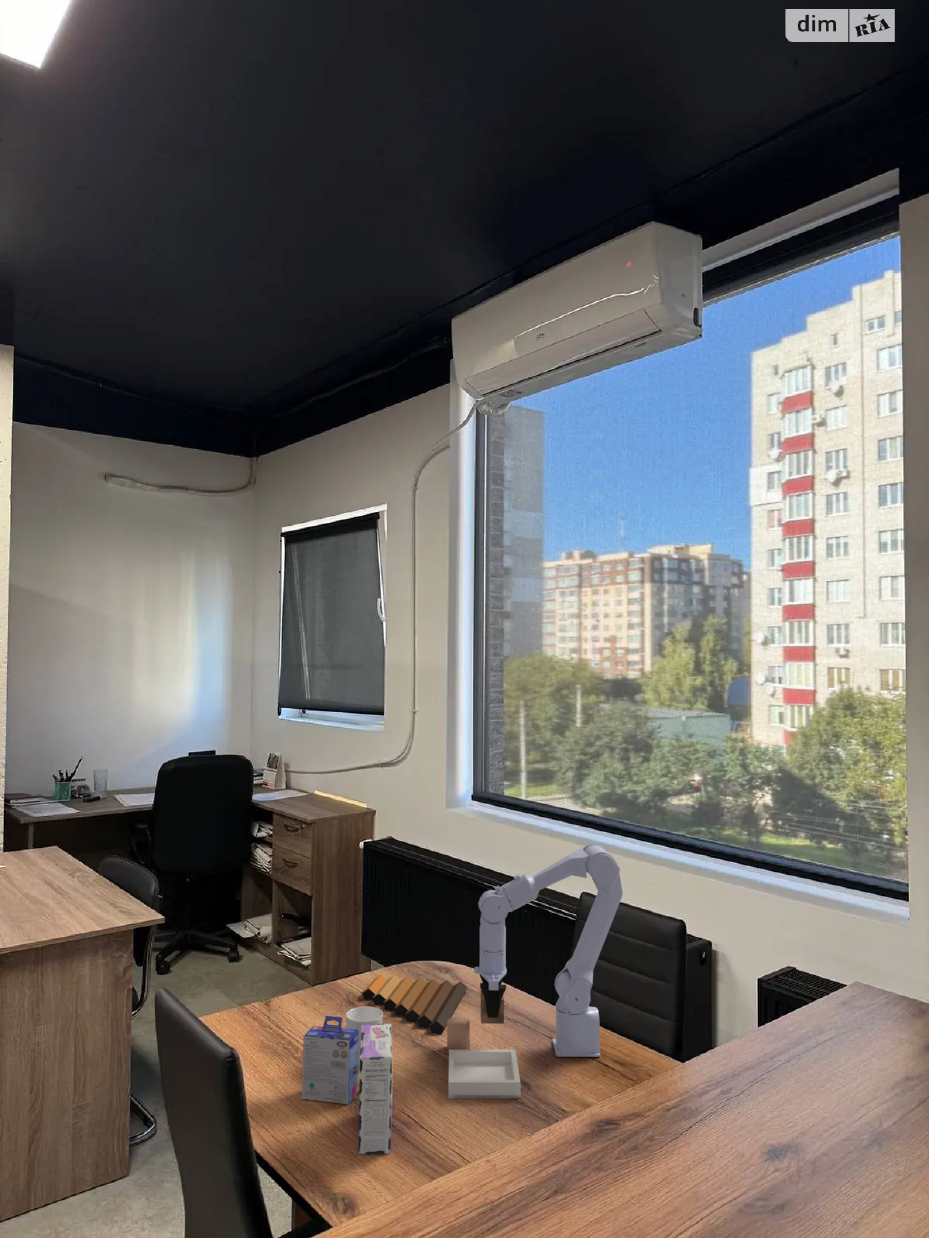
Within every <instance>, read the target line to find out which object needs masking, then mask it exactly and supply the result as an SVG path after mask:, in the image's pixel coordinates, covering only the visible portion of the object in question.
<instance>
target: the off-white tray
mask: <svg viewBox="0 0 929 1238" xmlns="http://www.w3.org/2000/svg"><path fill="white" fill-rule="evenodd" d="M447 1083H448V1089H447V1090H448V1099H521V1076H520V1070H519V1063H518V1058H517V1051H516V1049H470V1050H449V1052H448V1082H447Z"/></svg>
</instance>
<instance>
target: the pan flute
mask: <svg viewBox="0 0 929 1238" xmlns="http://www.w3.org/2000/svg"><path fill="white" fill-rule="evenodd" d="M467 989H468V986H467V985H466V984H464V983H463V982H462V981H461V980H460V981H458V982H457V983H455V984H453V983H452V982H450V981H449V980H445V981H443V982H442V983H439V982H438V981H437V980H435V979H434V978H433V979H431V980H430V981H428V982H426V981H425V980H424V979H423V978H421V977H419V978H418V979H416V980H415V981H413V980H412V979H410V978H409V977H408V976H406V977H404V978H403V979H401V980H400V979H399V978H398V977H397V976H396V975H393V976H391V977H390V978H388V979H387V978H386V977H385V976H384V975H382V974H379V975H378V976H377V977H375V978H374V979H373V980H372V981H371V982H369V984H368V986H367V987H366V988H365V989H364V990H363V991H362V992H361V995H362V998H363V1000H364V1001H372V1002H373V1004H374V1006H382V1007H383V1008H384V1009H383V1010H384V1011H389V1010H390V1011H391V1012H394V1014H395V1016H398V1017H405V1016H406V1018H405V1019H406V1021H407V1022H411V1023H417V1024H418V1027H419V1028H424V1029H429V1030H430V1033H431V1034H434V1033H436V1034H437V1035H443V1033H444V1032H445V1030H446V1029H447V1020H448V1019H450V1018H452V1017H454V1014H455V1012H456V1011H457V1008H458V1006H459V1005H460V1003H461V1001H462V1000H463V998H464V996H465V995H466V992H467ZM436 1034H435V1035H436Z"/></svg>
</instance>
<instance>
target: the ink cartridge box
mask: <svg viewBox="0 0 929 1238" xmlns="http://www.w3.org/2000/svg"><path fill="white" fill-rule="evenodd" d="M331 1021H334V1022H337V1025H336V1024H328V1022H331ZM342 1024H343V1017H341V1016H333V1015H325V1019H324V1021H323V1025H321V1026H320V1025H313V1026H312V1027H311V1028H309V1030H308V1031H307V1032H306V1033H305V1034H304V1035H303V1036H302V1037H303V1040H302V1041H303V1042H302V1043H303V1044H302V1045H303V1046H302V1047H303V1048H302V1051H303V1052H302V1084H301V1085H302V1087H301V1088H302V1089H301V1099H302V1098H303V1099H302V1100H305V1099H310V1100H309V1101H315V1100H316V1102H324V1103H333V1104H343V1105H349V1104H350V1102H352V1100H353V1099H354V1097H356V1095H357V1094H358V1093H359V1091H358V1090H359V1089H358V1088H359V1084H358V1083H359V1080H358V1079H359V1074H358V1073H359V1069H358V1029H350V1028H346V1027H342Z"/></svg>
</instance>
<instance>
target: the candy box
mask: <svg viewBox="0 0 929 1238" xmlns="http://www.w3.org/2000/svg"><path fill="white" fill-rule="evenodd" d="M392 1027H393V1026H392V1023H383V1024H375V1025H362V1030H361V1042H360V1066H359V1069H358V1073H359V1074H358V1079H359V1080H358V1083H359V1084H358V1088H359V1089H358V1090H359V1091H358V1093H359V1095H358V1147H357V1148H358V1153H357V1154H358V1155H390V1153H391V1151H392V1120H393V1119H392V1117H393V1116H392V1115H393V1032H392V1031H393V1029H392Z"/></svg>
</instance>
